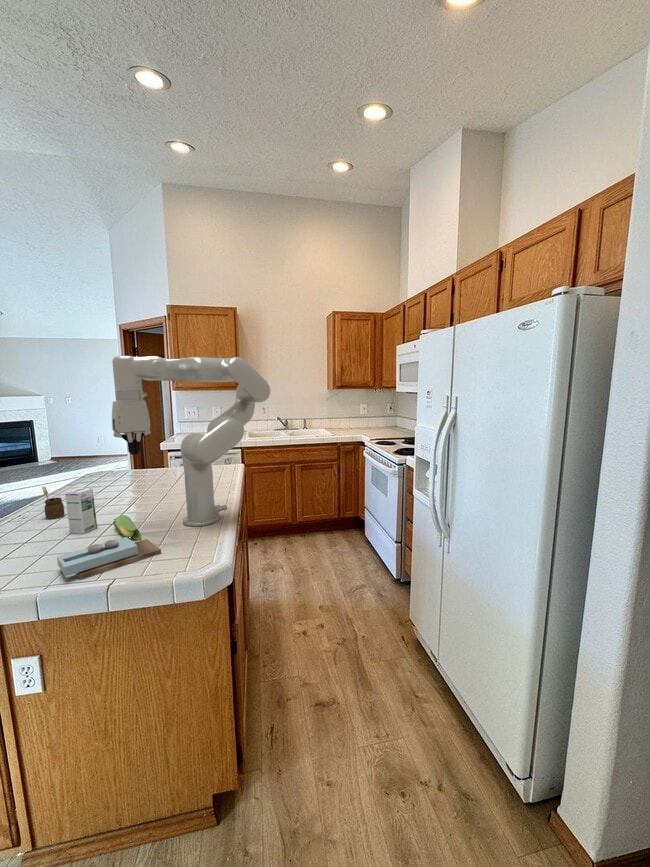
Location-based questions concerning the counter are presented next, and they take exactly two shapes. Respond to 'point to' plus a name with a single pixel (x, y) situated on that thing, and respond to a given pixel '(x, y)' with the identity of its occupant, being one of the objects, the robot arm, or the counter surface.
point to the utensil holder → (53, 506)
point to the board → (144, 551)
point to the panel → (95, 557)
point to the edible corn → (126, 527)
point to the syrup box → (81, 510)
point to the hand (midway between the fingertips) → (134, 454)
